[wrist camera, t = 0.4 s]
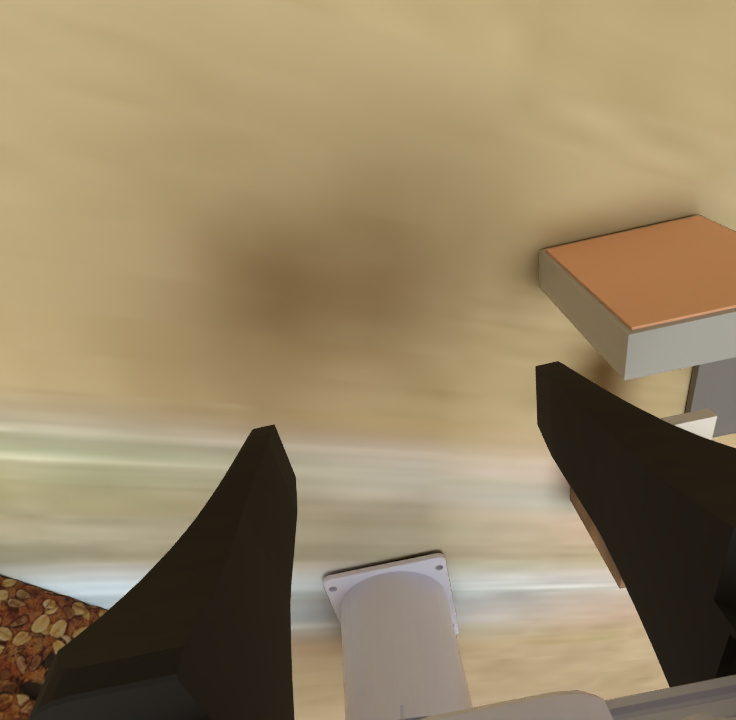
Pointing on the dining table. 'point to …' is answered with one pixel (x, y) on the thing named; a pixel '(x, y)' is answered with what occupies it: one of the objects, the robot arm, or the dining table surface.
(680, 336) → the tile
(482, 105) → the dining table surface
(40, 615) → the bread
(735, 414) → the mat
